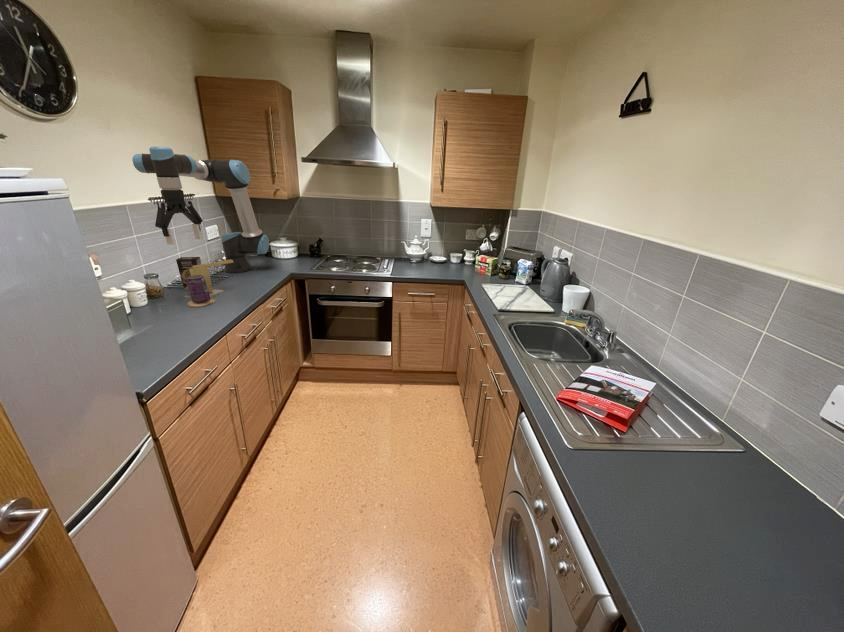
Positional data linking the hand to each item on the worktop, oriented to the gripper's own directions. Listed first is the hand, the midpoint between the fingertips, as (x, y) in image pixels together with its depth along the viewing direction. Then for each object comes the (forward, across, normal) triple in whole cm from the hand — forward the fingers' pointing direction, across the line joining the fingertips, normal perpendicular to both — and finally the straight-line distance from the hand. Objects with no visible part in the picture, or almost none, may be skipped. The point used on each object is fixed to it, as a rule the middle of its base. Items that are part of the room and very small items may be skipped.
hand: (185, 241), depth 139 cm
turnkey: (+27, -16, -5) cm, 32 cm away
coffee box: (+29, -18, -22) cm, 41 cm away
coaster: (+29, 0, 0) cm, 29 cm away
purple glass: (+28, 0, 0) cm, 28 cm away
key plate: (+29, -10, -8) cm, 31 cm away
